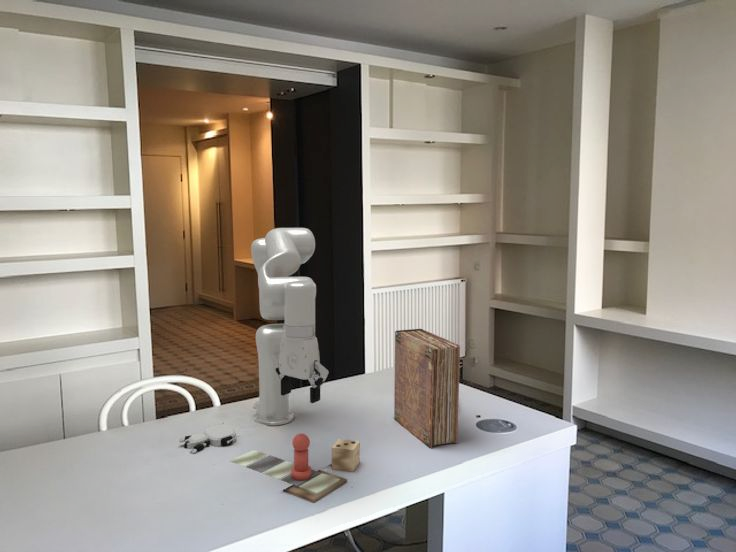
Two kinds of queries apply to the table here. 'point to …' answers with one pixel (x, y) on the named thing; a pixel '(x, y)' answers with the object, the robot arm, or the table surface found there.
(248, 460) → the board
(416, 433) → the book
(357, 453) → the die
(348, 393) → the table surface
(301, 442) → the pawn
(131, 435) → the table surface
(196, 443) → the robot toy
